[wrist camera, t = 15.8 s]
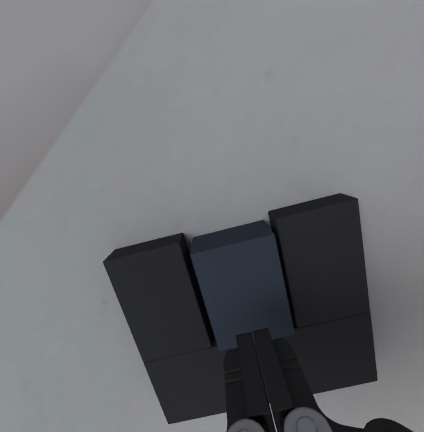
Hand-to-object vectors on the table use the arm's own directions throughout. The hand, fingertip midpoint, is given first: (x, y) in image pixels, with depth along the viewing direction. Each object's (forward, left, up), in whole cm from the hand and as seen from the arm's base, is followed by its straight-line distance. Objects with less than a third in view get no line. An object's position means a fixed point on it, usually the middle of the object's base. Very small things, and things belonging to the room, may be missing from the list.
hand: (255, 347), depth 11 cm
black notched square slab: (+3, 0, -7) cm, 7 cm away
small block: (0, 0, -7) cm, 7 cm away
